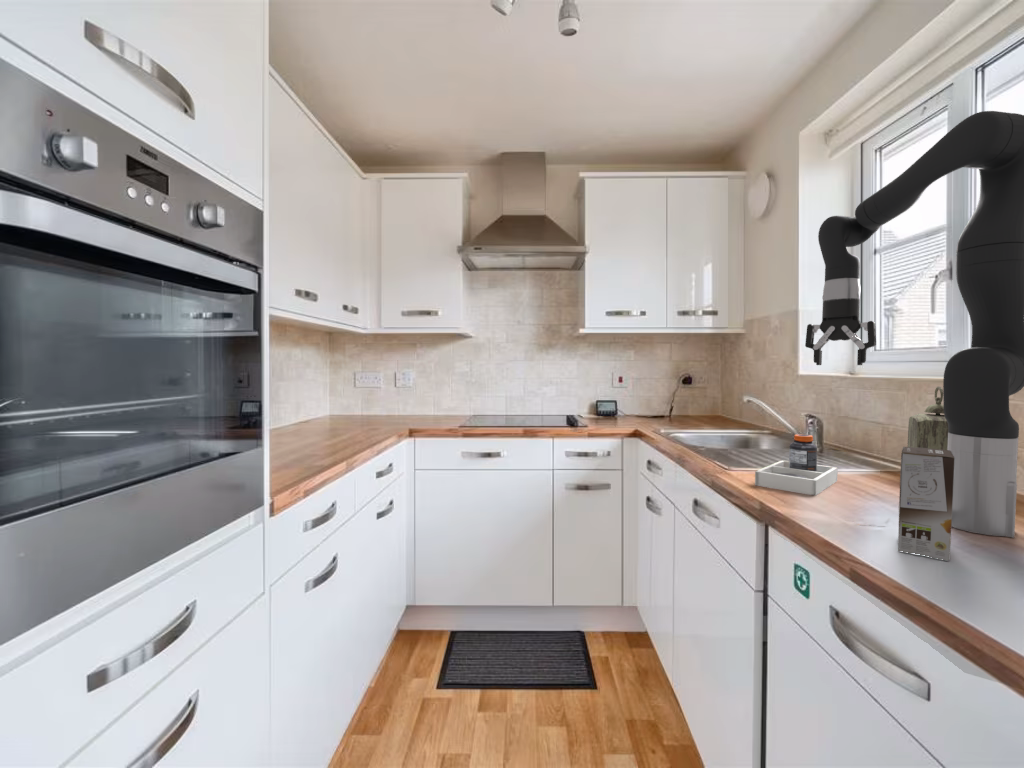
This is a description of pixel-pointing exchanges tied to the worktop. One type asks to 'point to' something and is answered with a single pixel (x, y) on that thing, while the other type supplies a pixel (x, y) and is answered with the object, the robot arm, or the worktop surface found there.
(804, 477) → the cord coil
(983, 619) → the worktop surface
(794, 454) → the pill bottle
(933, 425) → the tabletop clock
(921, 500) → the coffee box
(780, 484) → the tray
